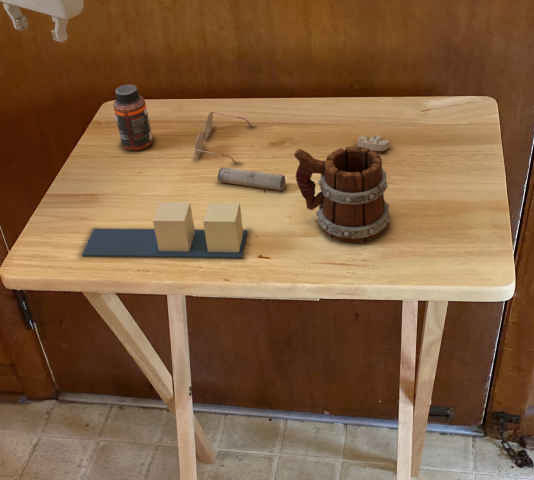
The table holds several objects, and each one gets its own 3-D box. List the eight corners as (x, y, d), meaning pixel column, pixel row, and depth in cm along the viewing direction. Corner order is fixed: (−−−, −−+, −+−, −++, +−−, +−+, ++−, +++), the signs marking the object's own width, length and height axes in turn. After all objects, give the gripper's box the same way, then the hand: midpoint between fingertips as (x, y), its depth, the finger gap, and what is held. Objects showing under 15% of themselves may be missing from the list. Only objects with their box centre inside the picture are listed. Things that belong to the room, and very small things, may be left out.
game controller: (389, 140, 150) (389, 128, 148) (388, 175, 142) (389, 162, 140) (358, 140, 151) (358, 128, 149) (355, 175, 142) (355, 162, 141)
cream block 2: (207, 252, 129) (203, 221, 124) (213, 233, 132) (208, 202, 128) (239, 252, 128) (235, 221, 124) (243, 233, 132) (239, 202, 127)
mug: (390, 248, 126) (374, 165, 117) (302, 252, 131) (280, 172, 121) (400, 205, 134) (387, 124, 125) (317, 210, 139) (298, 133, 130)
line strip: (82, 256, 131) (81, 254, 131) (94, 230, 136) (93, 228, 136) (241, 258, 127) (241, 256, 127) (247, 231, 132) (247, 229, 132)
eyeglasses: (212, 125, 159) (212, 106, 156) (253, 129, 158) (252, 111, 155) (194, 163, 149) (193, 144, 146) (237, 168, 148) (236, 149, 145)
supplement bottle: (159, 140, 156) (149, 85, 149) (140, 154, 153) (128, 99, 145) (135, 133, 159) (124, 79, 151) (115, 147, 155) (103, 93, 148)
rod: (286, 185, 142) (285, 171, 140) (281, 193, 140) (280, 180, 138) (224, 177, 145) (222, 164, 143) (218, 185, 143) (216, 172, 142)
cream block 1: (158, 251, 130) (152, 220, 126) (165, 232, 133) (159, 202, 129) (189, 251, 129) (184, 220, 125) (195, 232, 133) (190, 202, 129)
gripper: (-42, -60, 125) (-16, 29, 134) (47, -39, 115) (69, 54, 124) (-9, -72, 129) (14, 15, 138) (80, -53, 119) (98, 39, 128)
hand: (41, 34), depth 131 cm, fingers open, 8 cm apart
